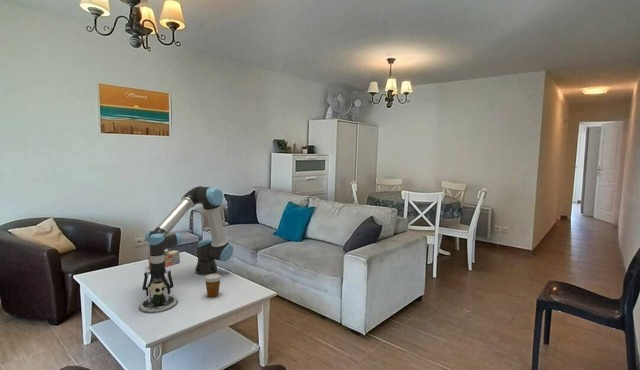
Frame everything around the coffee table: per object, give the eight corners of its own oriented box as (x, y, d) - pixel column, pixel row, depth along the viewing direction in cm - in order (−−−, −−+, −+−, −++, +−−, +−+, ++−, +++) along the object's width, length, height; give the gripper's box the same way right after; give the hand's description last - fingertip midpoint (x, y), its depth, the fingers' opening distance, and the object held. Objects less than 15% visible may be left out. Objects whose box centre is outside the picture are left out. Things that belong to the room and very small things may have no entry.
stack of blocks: (175, 261, 266) (174, 246, 264) (179, 263, 262) (179, 247, 261) (148, 269, 248) (148, 252, 247) (153, 271, 244) (152, 254, 243)
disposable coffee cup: (224, 293, 209) (224, 274, 208) (214, 299, 200) (214, 280, 199) (211, 291, 212) (211, 272, 211) (201, 297, 203) (201, 277, 202)
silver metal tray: (180, 295, 204) (180, 293, 204) (174, 311, 185) (174, 308, 185) (143, 298, 199) (143, 295, 199) (134, 314, 180) (134, 311, 180)
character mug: (151, 308, 186) (150, 286, 184) (146, 304, 191) (145, 282, 189) (171, 302, 194) (170, 280, 192) (165, 298, 199) (165, 277, 197)
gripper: (178, 258, 196) (179, 296, 198) (138, 260, 191) (139, 299, 193) (176, 262, 189) (177, 301, 191) (134, 265, 184) (136, 305, 186)
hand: (158, 300), depth 192 cm, fingers closed on character mug, 8 cm apart
